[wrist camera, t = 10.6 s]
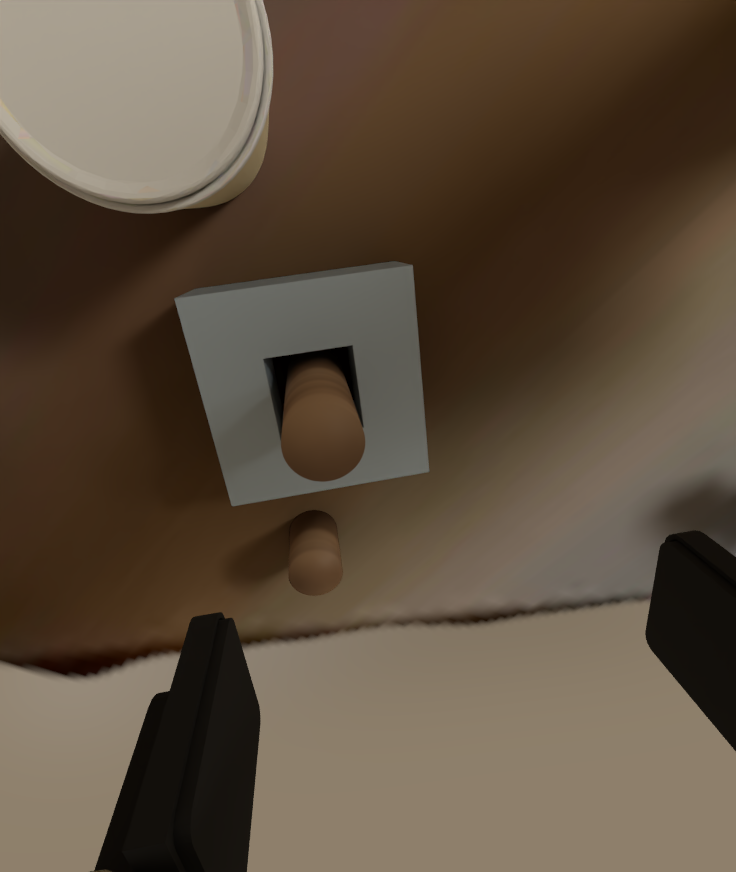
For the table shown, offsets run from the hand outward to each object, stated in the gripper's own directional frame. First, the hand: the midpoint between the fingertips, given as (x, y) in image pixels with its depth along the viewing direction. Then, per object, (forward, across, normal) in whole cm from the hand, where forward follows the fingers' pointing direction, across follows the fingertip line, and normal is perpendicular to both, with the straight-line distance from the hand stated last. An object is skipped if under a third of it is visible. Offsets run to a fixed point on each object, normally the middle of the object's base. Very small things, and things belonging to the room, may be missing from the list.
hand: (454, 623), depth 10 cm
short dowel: (+22, +5, +12) cm, 26 cm away
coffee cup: (+23, +7, -14) cm, 28 cm away
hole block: (+22, +3, 0) cm, 23 cm away
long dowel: (+22, +3, 0) cm, 23 cm away
